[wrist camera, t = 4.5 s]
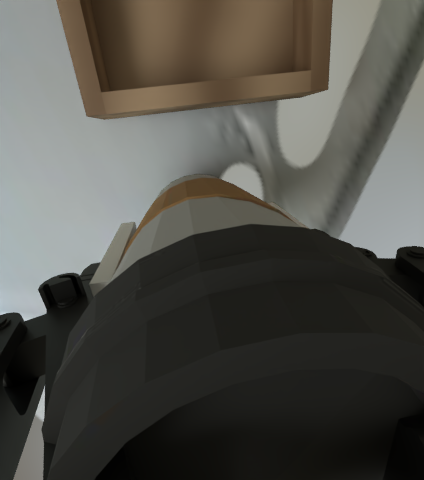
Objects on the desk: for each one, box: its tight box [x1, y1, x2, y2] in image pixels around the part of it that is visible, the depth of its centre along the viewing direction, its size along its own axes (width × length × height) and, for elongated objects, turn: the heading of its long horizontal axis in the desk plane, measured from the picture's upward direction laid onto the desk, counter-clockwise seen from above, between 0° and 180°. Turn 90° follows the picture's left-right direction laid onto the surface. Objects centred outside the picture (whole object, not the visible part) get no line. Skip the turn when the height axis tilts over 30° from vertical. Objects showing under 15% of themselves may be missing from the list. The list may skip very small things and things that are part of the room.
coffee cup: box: [42, 174, 424, 480], centre depth 11 cm, size 8×8×15 cm
